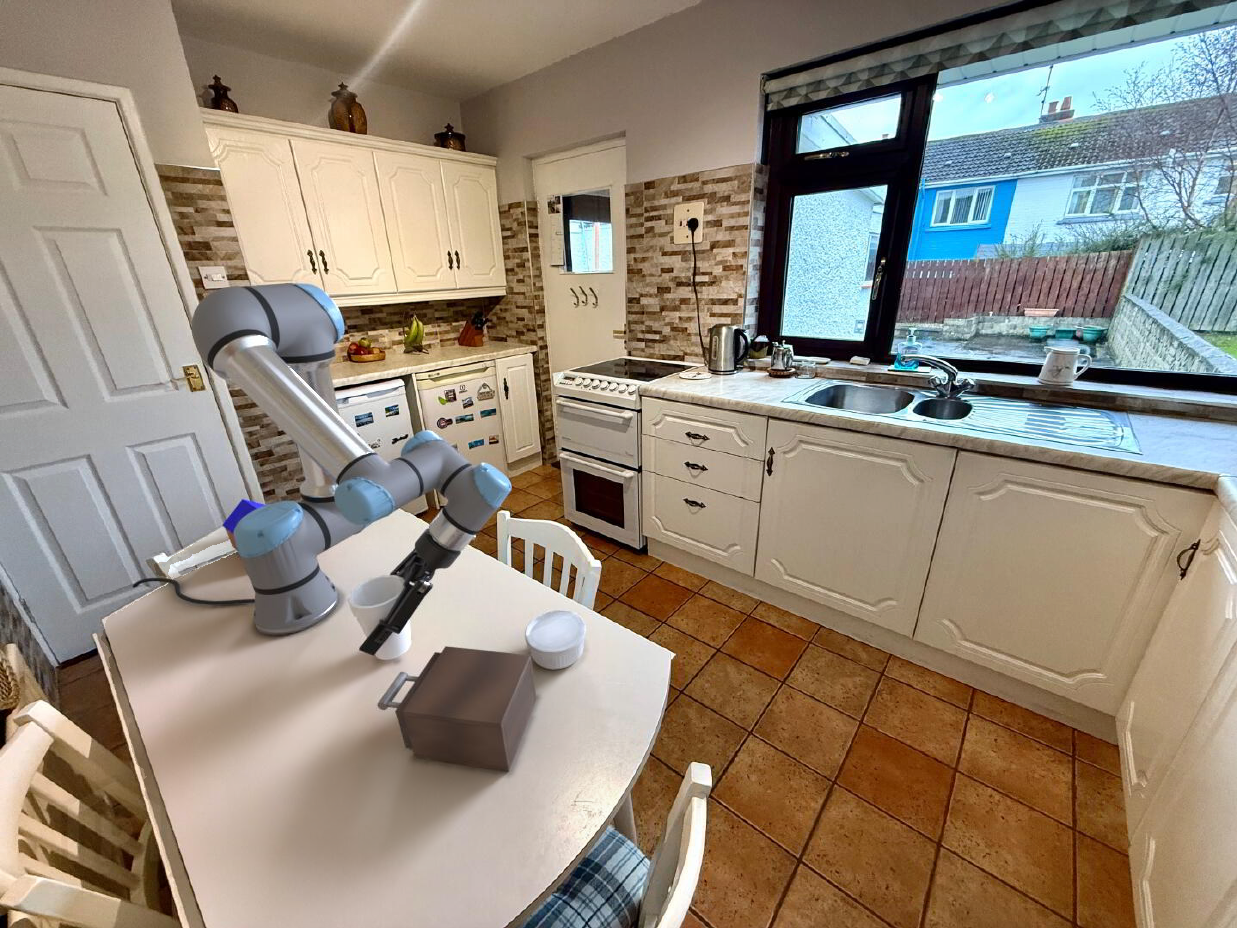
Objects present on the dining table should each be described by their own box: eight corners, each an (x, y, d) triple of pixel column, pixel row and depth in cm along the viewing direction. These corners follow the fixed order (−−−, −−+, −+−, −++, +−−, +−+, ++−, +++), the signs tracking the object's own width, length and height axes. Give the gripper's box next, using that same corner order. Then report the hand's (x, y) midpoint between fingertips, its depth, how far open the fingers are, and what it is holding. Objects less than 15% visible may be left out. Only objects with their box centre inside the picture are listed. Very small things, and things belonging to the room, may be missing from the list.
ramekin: (545, 625, 97) (542, 603, 95) (596, 637, 93) (595, 615, 91) (516, 666, 87) (512, 643, 85) (572, 681, 84) (570, 658, 82)
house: (280, 527, 136) (268, 490, 131) (314, 549, 125) (301, 509, 120) (230, 547, 127) (215, 508, 122) (262, 572, 116) (246, 530, 112)
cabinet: (415, 758, 72) (402, 711, 68) (454, 688, 83) (445, 645, 79) (508, 771, 69) (500, 724, 66) (536, 698, 81) (530, 654, 77)
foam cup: (399, 669, 86) (383, 611, 81) (354, 662, 88) (335, 605, 83) (429, 632, 95) (416, 577, 89) (387, 626, 96) (372, 572, 91)
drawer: (373, 744, 73) (361, 706, 70) (414, 683, 83) (405, 648, 80) (491, 760, 70) (484, 722, 67) (518, 695, 80) (513, 660, 77)
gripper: (467, 582, 80) (384, 683, 81) (458, 521, 99) (391, 603, 100) (427, 563, 76) (340, 669, 77) (426, 503, 95) (356, 589, 96)
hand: (369, 632), depth 88 cm, fingers closed on foam cup, 9 cm apart
